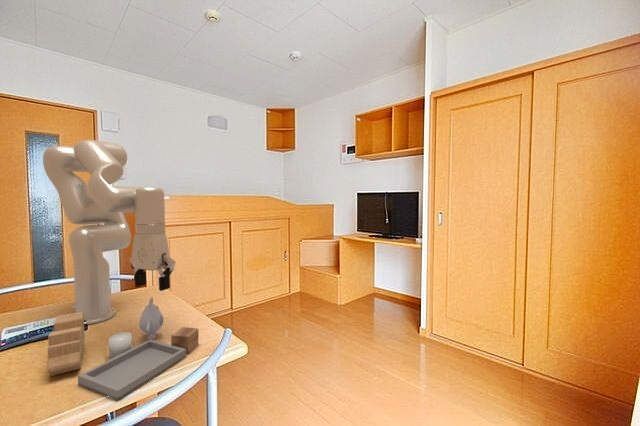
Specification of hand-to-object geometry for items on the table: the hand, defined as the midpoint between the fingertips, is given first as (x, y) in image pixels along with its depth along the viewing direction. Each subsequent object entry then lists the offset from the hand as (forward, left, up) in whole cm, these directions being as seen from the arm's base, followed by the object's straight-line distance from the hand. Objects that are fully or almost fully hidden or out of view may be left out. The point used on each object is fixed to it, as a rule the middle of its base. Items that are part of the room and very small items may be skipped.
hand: (152, 287), depth 86 cm
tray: (+10, -13, -15) cm, 23 cm away
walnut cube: (+13, -1, -15) cm, 20 cm away
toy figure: (-1, 0, -16) cm, 15 cm away
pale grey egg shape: (0, -10, -15) cm, 18 cm away
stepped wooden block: (-8, -17, -16) cm, 25 cm away
